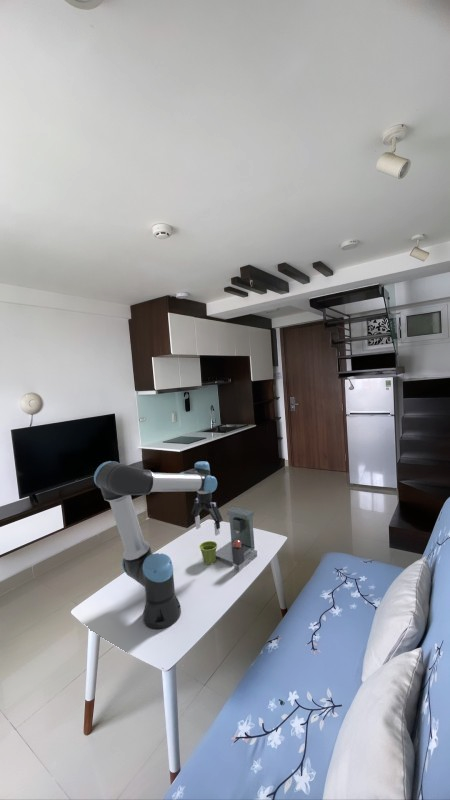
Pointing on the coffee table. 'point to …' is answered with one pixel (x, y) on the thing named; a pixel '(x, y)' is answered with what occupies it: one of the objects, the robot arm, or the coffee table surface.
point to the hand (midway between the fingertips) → (207, 531)
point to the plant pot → (208, 551)
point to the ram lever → (237, 552)
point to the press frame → (239, 537)
